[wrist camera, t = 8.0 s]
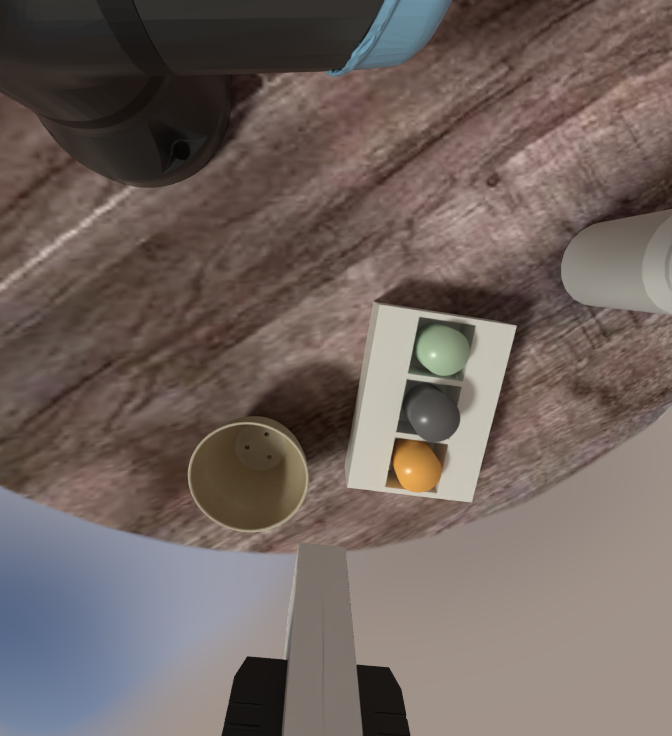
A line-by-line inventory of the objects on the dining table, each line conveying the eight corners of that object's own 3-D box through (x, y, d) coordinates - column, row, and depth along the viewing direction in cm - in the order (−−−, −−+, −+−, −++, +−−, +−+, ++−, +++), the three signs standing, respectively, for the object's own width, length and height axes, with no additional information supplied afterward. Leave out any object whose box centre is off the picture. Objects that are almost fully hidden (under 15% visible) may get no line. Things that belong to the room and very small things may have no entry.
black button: (407, 381, 36) (418, 393, 32) (449, 386, 37) (465, 400, 33) (399, 421, 37) (408, 438, 33) (440, 427, 38) (454, 444, 34)
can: (551, 306, 38) (653, 319, 26) (559, 223, 36) (673, 198, 25) (627, 304, 38) (763, 317, 26) (639, 222, 36) (790, 197, 25)
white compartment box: (373, 301, 37) (379, 304, 33) (496, 320, 38) (516, 325, 34) (344, 467, 41) (347, 487, 37) (457, 481, 42) (471, 502, 38)
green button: (416, 319, 36) (427, 325, 33) (458, 326, 37) (474, 332, 33) (407, 362, 37) (417, 372, 33) (448, 368, 38) (463, 378, 34)
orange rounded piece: (393, 431, 39) (402, 448, 35) (433, 436, 39) (446, 454, 35) (386, 468, 40) (393, 489, 36) (425, 473, 40) (436, 494, 36)
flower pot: (321, 410, 39) (322, 438, 32) (297, 498, 41) (292, 543, 34) (221, 385, 38) (200, 409, 31) (201, 476, 41) (177, 518, 34)
